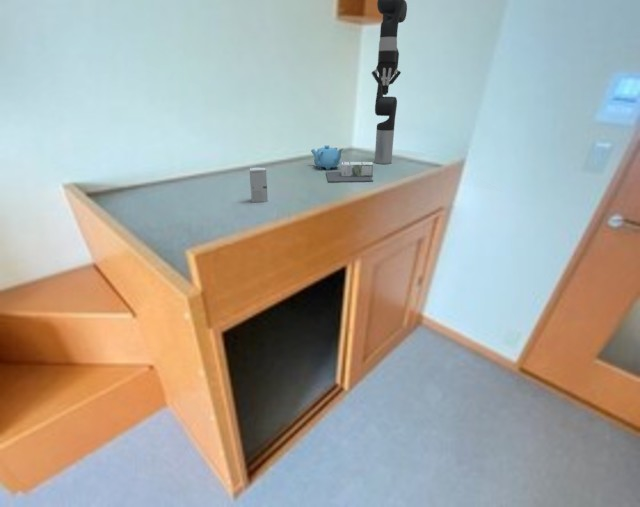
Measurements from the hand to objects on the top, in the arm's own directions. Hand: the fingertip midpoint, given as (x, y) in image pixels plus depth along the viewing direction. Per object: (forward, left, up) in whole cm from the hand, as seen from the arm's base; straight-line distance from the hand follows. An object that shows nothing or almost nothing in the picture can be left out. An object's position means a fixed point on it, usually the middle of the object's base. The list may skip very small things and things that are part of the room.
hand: (384, 94), depth 156 cm
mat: (+7, -16, -35) cm, 39 cm away
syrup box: (+7, -5, -32) cm, 33 cm away
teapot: (-14, -24, -35) cm, 45 cm away
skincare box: (+40, -54, -35) cm, 76 cm away
